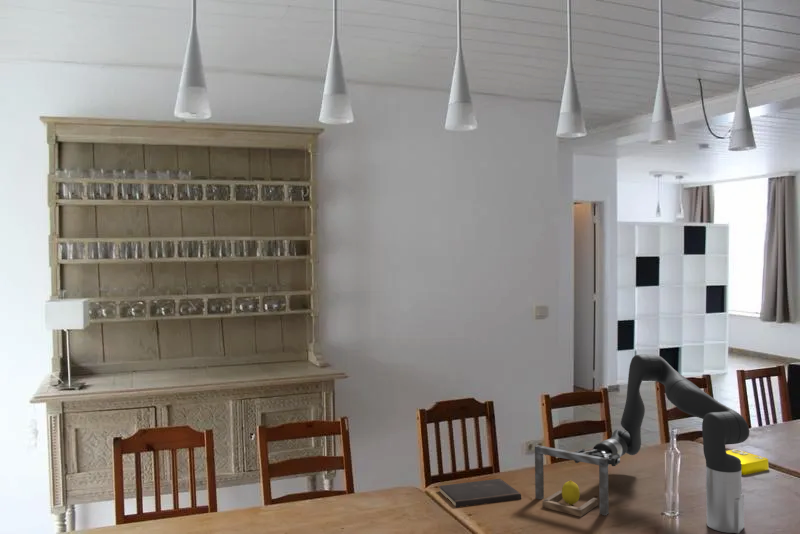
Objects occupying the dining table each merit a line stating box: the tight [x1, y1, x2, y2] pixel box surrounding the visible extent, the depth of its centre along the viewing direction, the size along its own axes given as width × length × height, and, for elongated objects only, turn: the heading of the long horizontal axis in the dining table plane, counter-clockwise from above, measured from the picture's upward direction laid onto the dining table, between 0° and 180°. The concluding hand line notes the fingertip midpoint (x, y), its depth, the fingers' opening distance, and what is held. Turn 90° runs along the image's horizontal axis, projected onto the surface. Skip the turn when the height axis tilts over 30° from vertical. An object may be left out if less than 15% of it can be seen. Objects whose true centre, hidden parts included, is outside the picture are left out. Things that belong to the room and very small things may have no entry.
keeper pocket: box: [534, 444, 610, 518], centre depth 206 cm, size 24×12×17 cm, turn 50°
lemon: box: [561, 480, 581, 506], centre depth 207 cm, size 6×6×8 cm
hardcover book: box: [438, 478, 522, 508], centre depth 218 cm, size 16×23×2 cm
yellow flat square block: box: [726, 448, 769, 476], centre depth 243 cm, size 15×15×5 cm
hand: (588, 462), depth 215 cm, fingers open, 8 cm apart
